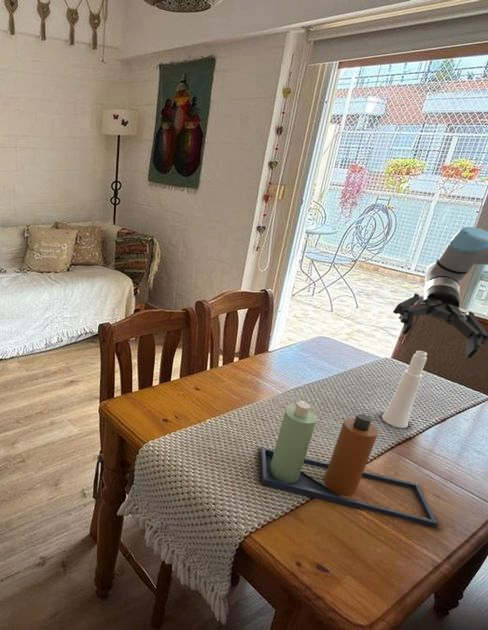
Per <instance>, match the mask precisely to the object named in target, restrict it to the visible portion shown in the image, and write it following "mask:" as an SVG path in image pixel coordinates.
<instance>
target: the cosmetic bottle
mask: <svg viewBox="0 0 488 630" xmlns="http://www.w3.org/2000/svg"><path fill="white" fill-rule="evenodd" d="M427 356H428V353H427V352H426V351H424V350H416V351H415V353H414V354H413V355H412V357H411V360H410V362H409V365H408V367H407V369H405V370H404V372H403V374H402V376H401V378H400V381H399V383H398V385H397V387H396V389H395V391H394V394H393V395H392V398H391V401H390V403H389V404H388V406H387V407H386V410H385V411H384V413H383V415H382V416H381V418H382V420H383V422H385V423H386V424H388V425H390V426H392V427H394V428H395V427H396V428H401V429H404V428H407V427H408V426H409V420H410V417H411V413H412V409H413V407H414V404H415V399H416V397H417V394H418V391H419V389H420V385H421V382H422V379H423V374H422V372H423V370H424V368H425V365H426V362H427V361H428V357H427Z"/></svg>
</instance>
